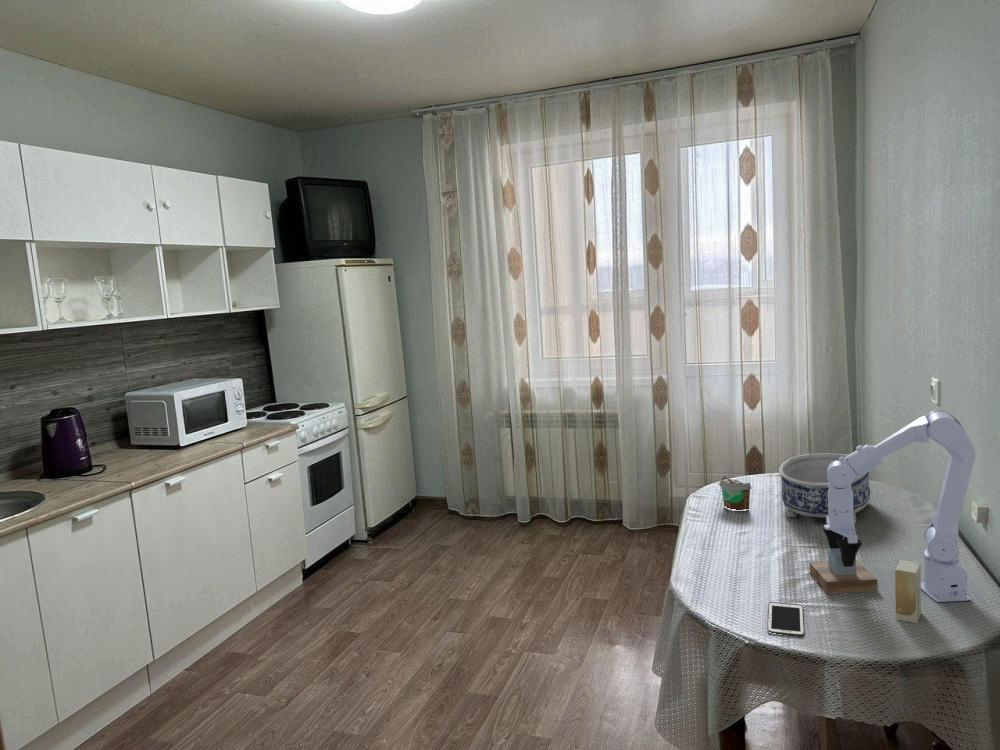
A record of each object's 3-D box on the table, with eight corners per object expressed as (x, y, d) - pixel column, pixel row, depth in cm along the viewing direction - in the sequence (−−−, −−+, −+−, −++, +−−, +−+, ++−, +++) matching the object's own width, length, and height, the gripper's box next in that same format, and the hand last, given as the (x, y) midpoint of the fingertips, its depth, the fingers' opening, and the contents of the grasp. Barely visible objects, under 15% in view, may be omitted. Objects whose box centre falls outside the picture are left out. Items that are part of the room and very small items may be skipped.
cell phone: (803, 608, 168) (802, 604, 167) (804, 639, 154) (804, 635, 154) (768, 605, 171) (768, 601, 170) (767, 635, 157) (767, 631, 157)
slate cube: (856, 574, 175) (855, 555, 174) (835, 575, 176) (835, 556, 175) (848, 566, 180) (848, 547, 179) (828, 567, 181) (827, 548, 180)
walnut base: (877, 590, 172) (877, 579, 171) (827, 593, 173) (827, 582, 173) (856, 570, 184) (856, 559, 183) (809, 573, 185) (809, 562, 184)
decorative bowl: (863, 536, 205) (862, 487, 203) (768, 526, 220) (767, 480, 218) (876, 493, 240) (875, 451, 238) (793, 486, 255) (792, 447, 253)
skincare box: (900, 608, 163) (899, 558, 161) (921, 612, 160) (921, 562, 158) (894, 620, 158) (894, 568, 156) (916, 624, 155) (916, 572, 154)
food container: (712, 506, 242) (711, 478, 241) (726, 502, 245) (724, 475, 243) (738, 515, 231) (737, 486, 230) (752, 511, 233) (751, 483, 232)
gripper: (813, 500, 183) (815, 549, 185) (835, 519, 169) (837, 572, 171) (841, 498, 183) (842, 548, 184) (865, 517, 168) (867, 571, 170)
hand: (842, 559), depth 178 cm, fingers open, 7 cm apart
